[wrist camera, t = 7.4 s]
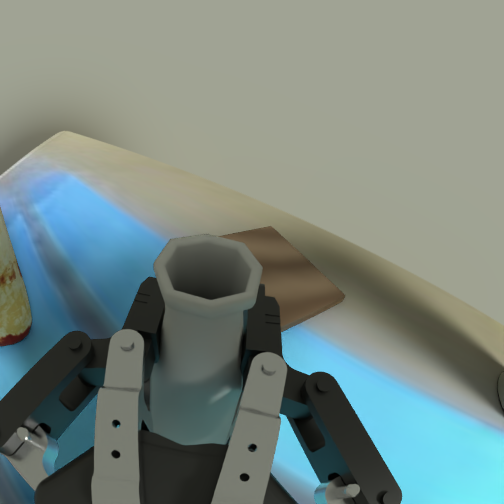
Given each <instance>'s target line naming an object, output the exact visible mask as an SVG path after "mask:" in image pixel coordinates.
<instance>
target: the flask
mask: <svg viewBox="0 0 504 504" xmlns="http://www.w3.org/2000/svg"><path fill="white" fill-rule="evenodd" d="M262 269H263V267H262V266H261V264H260V263H259V262H258V260H257V259H256V258H255V257H254V255H253V254H252V253H251V251H250V250H249V249H248V247H247V246H246V245H245V243H242V242H238V241H234V240H230V239H226V238H222V237H218V236H213V235H209V234H204V235H196V236H189V237H182V238H175V239H170V240H169V242H168V243H167V245H166V246H165V247H164V249H163V250H162V252H161V253H160V255H159V256H158V257H157V259H156V260H155V262H154V272H155V275H156V278H157V281H158V284H159V287H160V290H161V293H162V296H163V299H164V302H165V314H164V319H163V324H162V330H161V335H160V357H159V360H158V361H157V363H154V366H153V370H152V373H151V374H152V390H151V412H152V420H153V432H154V433H157V434H159V435H161V436H163V437H166V438H168V439H170V440H172V441H174V442H177V443H179V444H182V445H197V444H208V443H216V444H225V441H226V438H227V435H228V432H229V430H230V426H231V423H232V420H233V416H234V413H235V410H236V406H237V403H238V399H239V396H240V393H241V390H242V386H243V376H242V373H241V370H240V364H241V355H242V346H243V339H244V331H243V310H247V309H250V308H252V307H253V306H254V304H255V302H256V298H257V293H258V288H259V284H260V279H261V274H262Z"/></svg>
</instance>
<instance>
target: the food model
mask: <svg viewBox="0 0 504 504" xmlns="http://www.w3.org/2000/svg"><path fill="white" fill-rule="evenodd" d="M31 324H32V316H31V310H30V305H29V300H28V296H27V291H26V287H25V284H24V281H23V278H22V275H21V272H20V269H19V266H18V263H17V260H16V257H15V253H14V250H13V247H12V244H11V241H10V238H9V235H8V231H7V228H6V225H5V221H4V218H3V214H2V211H1V207H0V346H6V345H12V344H15V343H17V342H19V341H21V340H23V339H24V338H25V337H26V336H27V335H28V333H29V330H30V327H31Z"/></svg>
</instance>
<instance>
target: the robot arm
mask: <svg viewBox="0 0 504 504" xmlns="http://www.w3.org/2000/svg"><path fill="white" fill-rule="evenodd" d="M164 314H165V302H164V299H163V296H162V293H161V290H160V287H159V284H158V281H157V278H153V277H148V278H147V279H146V280H145V281H144V282H143V283H141V285H140V288H139V290H138V292H137V294H136V297H135V299H134V301H133V304H132V306H131V309H130V311H129V313H128V316H127V318H126V321H125V323H124V326H123V328H122V330H120V331H118V332H116V333H115V334H114V335H113V336H112V337H111V338H107V339H90V338H89V336H88V335H87V334H86V333H84V332H81V331H72V332H70V333H68V334H66V335H65V336H64V337H63V338H62V339H61V340H60V341H59V342H58V343H57V344H56V345H55V346H54V347H53V348H52V349H50V350H49V351H48V352H47V353H46V354H45V355H44V356H43V357H42V358H41V359H40V360H39V361H38V362H37V363H36V364H35V365H34V366H33V367H32V368H31V369H30V370H29V371H28V372H27V373H26V374H25V375H24V376H23V377H22V379H21V380H20V381H19V382H18V383H17V384H16V385H15V386H14V387H13V388H12V389H11V390H10V391H9V392H8V393H7V394H6V396H5V397H4V398H3V399H2V400H1V401H0V453H1V454H2V455H4V456H5V457H6V458H7V459H8V460H9V461H10V463H11V464H12V465H13V466H14V468H15V469H16V470H17V471H18V472H19V474H20V475H21V476H22V477H23V478H24V479H25V481H26V482H27V483H28V484H29V485H30V486H31V487H32V488H33V489H34V491H35V496H34V500H35V504H298V503H297V502H296V501H295V500H294V499H293V498H292V497H291V495H290V494H289V493H288V492H287V491H286V490H285V489H284V488H283V486H282V485H281V484H280V483H279V482H278V481H277V479H276V478H275V477H274V476H273V475H272V473H271V467H272V463H273V458H274V454H275V449H276V445H277V440H278V435H279V430H280V424H281V418H280V417H279V413H280V414H283V415H286V417H287V419H288V421H289V423H290V425H291V427H292V429H293V431H294V433H295V435H296V437H297V439H298V441H299V442H300V444H301V446H302V448H303V450H304V452H305V454H306V456H307V458H308V460H309V462H310V464H311V466H312V468H313V469H314V471H315V473H316V475H317V477H318V479H319V481H320V483H321V484H320V485H319V486H318V487H317V488H316V490H315V493H314V499H315V502H316V504H400V503H401V500H402V492H401V489H400V487H399V486H398V484H397V482H396V481H395V479H394V477H393V475H392V474H391V472H390V470H389V469H388V467H387V465H386V464H385V462H384V460H383V458H382V457H381V455H380V453H379V452H378V450H377V448H376V447H375V445H374V443H373V441H372V440H371V438H370V436H369V435H368V433H367V431H366V430H365V428H364V426H363V425H362V423H361V421H360V420H359V418H358V416H357V414H356V413H355V411H354V409H353V408H352V406H351V404H350V403H349V401H348V399H347V398H346V396H345V394H344V393H343V391H342V389H341V388H340V386H339V384H338V383H337V381H336V380H335V378H334V377H333V376H331V375H330V374H328V373H325V372H315V373H312V374H311V375H307V374H304V373H302V372H299V371H296V370H294V369H293V368H291V367H290V366H289V365H288V364H287V363H286V362H285V360H284V358H283V355H282V340H281V326H280V324H281V322H280V306H279V304H278V302H277V301H276V299H275V297H270V296H265V284H261V283H260V284H259V288H258V293H257V298H256V302H255V304H254V306H253V307H252V308H250V309H247V310H243V331H244V339H243V346H242V355H241V364H240V370H241V373H242V376H243V386H242V390H241V393H240V396H239V399H238V403H237V406H236V410H235V413H234V416H233V420H232V423H231V426H230V430H229V432H228V435H227V438H226V441H225V444H216V443H208V444H197V445H182V444H179V443H177V442H174V441H172V440H170V439H168V438H166V437H163V436H161V435H159V434H157V433H154V432H153V420H152V412H151V390H152V374H151V373H152V370H153V366H154V363H157V361H158V360H159V357H160V335H161V330H162V324H163V319H164ZM498 392H499V398H500V401H501V404H502V407H503V409H504V371H503V372H502V373H501V375H500V377H499V380H498ZM97 393H98V397H97V408H96V421H95V440H94V446H93V447H91V448H90V449H89V450H87V451H86V452H84V453H83V454H81V455H80V456H78V457H77V458H76V459H74V460H73V461H71V462H70V463H68V464H67V465H65V466H64V467H62V468H61V469H59V470H57V471H56V472H55V469H54V462H55V460H56V458H57V456H58V453H59V447H58V443H57V441H56V440H57V439H58V438H59V437H60V436H61V434H62V433H63V432H64V431H65V430H66V429H67V427H68V426H69V425H70V424H71V423H72V422H73V421H74V419H75V418H76V417H77V416H78V415H79V414H80V412H81V411H82V410H83V409H84V408H85V407H86V406H87V404H88V403H89V402H90V401H91V400H92V399H93V398H94V397H95V395H96V394H97Z"/></svg>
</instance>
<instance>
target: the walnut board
mask: <svg viewBox="0 0 504 504" xmlns="http://www.w3.org/2000/svg"><path fill="white" fill-rule="evenodd" d="M218 237H222V238H226V239H230V240H234V241H238V242H242V243H245V245H246V246H247V247H248V249H249V250H250V251H251V253H252V254H253V255H254V257H255V258H256V259H257V260H258V262H259V263H260V264H261V266H262V267H263V269H262V274H261V279H260V283H261V284H265V296H270V297H275V299H276V301H277V302H278V304H279V306H280V322H281V324H280V326H281V332H283V331H285V330H287V329H289V328H291V327H293V326H295V325H297V324H299V323H301V322H303V321H305V320H307V319H309V318H311V317H313V316H315V315H317V314H319V313H321V312H323V311H325V310H327V309H329V308H331V307H333V306H335V305H337V304H338V303H340V302H342V300H343V299H344V297H345V295H344V294H343V293H342V292H341V291H340V290H339V289H338V288H337V287H336V286H335V285H334V284H333V283H332V282H331V281H330V280H329V279H328V278H327V277H326V276H324V275H323V274H322V273H321V272H320V271H319V270H318V269H317V268H316V267H315V266H314V265H313V264H312V263H311V262H310V261H308V260H307V259H306V258H305V257H304V256H303V255H302V254H301V253H300V252H299V251H298V250H297V249H296V248H294V247H293V246H292V245H291V244H290V243H289V242H288V241H287V240H286V239H285V238H284V237H282V236H281V235H280V234H279V233H278V232H277V231H276V230H275V229H274V228H273V227H271V226H269V227H264V228H259V229H254V230H248V231H243V232H238V233H233V234H228V235H223V236H218Z"/></svg>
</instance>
